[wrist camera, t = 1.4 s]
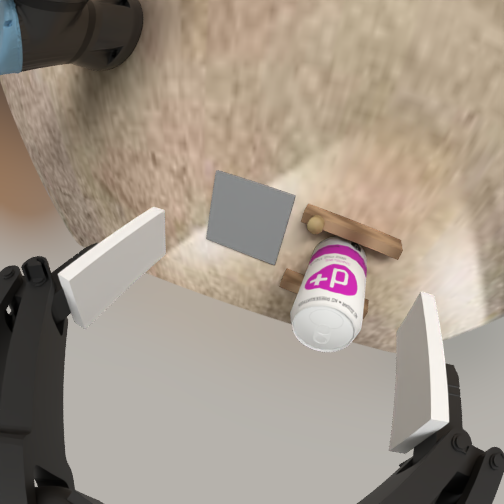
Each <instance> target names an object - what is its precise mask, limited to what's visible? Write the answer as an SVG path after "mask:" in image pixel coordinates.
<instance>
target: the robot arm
mask: <svg viewBox="0 0 504 504" xmlns="http://www.w3.org/2000/svg"><path fill="white" fill-rule="evenodd" d="M142 24H143V12H142V8H141V5H140V3H139V1H138V0H0V75H3V74H10V73H20V72H22V71H27V70H32V69H37V68H43V67H49V66H55V65H62V64H74V65H77V66H80V67H84V68H87V69H90V70H96V71H98V70H109V69H112V68H114V67H116V66H118V65H120V64H121V63H122V62H123V61H124V60H125V59H126V58H127V57H128V56H129V55H130V54H131V52H132V51H133V49H134V47H135V46H136V44H137V42H138V39H139V37H140V34H141V30H142ZM165 254H166V245H165V210H163V209H159V208H156V207H152V208H150V209H149V210H147V211H146V212H144V213H143V214H141V215H140V216H138V217H136V218H135V219H133V220H132V221H130V222H129V223H127V224H126V225H124V226H123V227H122V228H120V229H119V230H117V231H116V232H114V233H113V234H111V235H110V236H108V237H107V238H106V239H104V240H103V241H101V242H100V243H99V244H98V243H95V244H93V245H90V246H88V247H86V248H84V249H83V250H82V251H80V252H79V254H76V255H75V256H74V257H73V258H71V259H69V260H68V261H67V262H65V263H64V264H63V265H62V266H60V267H59V268H57V269H56V270H55V271H54V272H52V273H51V271H50V268H49V264H48V261H47V259H46V258H44V257H42V256H41V257H40V256H37V257H33V258H30V259H28V260H27V261H26V262H25V263H24V264H23V265H22V267H21V268H22V270H23V273H24V276H22V274H21V271H20V269H19V267H18V266H8V267H6V268H4V269H3V270H2V271H1V272H0V504H103V503H102V502H100V501H99V500H96V499H93V498H92V497H89V496H87V495H84V494H82V493H80V492H78V491H76V490H75V487H74V480H73V475H72V472H71V469H70V467H69V465H68V463H67V460H66V456H65V445H64V424H63V382H64V381H63V380H64V361H65V347H66V337H67V328H68V319H67V316H68V315H69V314H70V313H71V314H72V316H73V319H74V322H75V323H77V324H78V325H80V326H81V327H83V328H84V329H87V328H88V326H90V325H91V324H92V323H93V322H94V321H95V320H96V319H97V318H98V317H99V316H100V315H101V314H102V313H103V312H104V311H105V310H106V309H107V308H108V307H109V306H110V305H111V304H112V303H113V302H114V301H115V300H116V299H117V298H118V297H120V296H121V295H122V294H123V293H124V292H125V291H126V290H127V289H128V288H129V287H130V286H131V285H132V284H133V283H134V282H136V281H137V280H138V279H139V278H140V277H141V276H142V275H143V274H144V273H145V272H146V271H147V270H149V269H150V268H151V267H152V266H153V265H154V264H155V263H156V262H157V261H159V260H160V259H161V258H162V257H163V256H164V255H165ZM8 305H9V307H10V309H11V312H10V314H8V313H7V311H6V309H7V307H8ZM413 448H414V454H413V457H411V458H409V459H408V460H406V461H405V462H403V463H401V464H400V465H399V466H400V468H399V469H398V470H397V471H396V472H395V473H394V474H393V475H391V476H390V477H389V478H388V479H387V480H386V481H385V482H383V483H382V484H381V485H380V486H379V487H377V488H376V489H375V490H374V491H373V492H371V493H370V494H369V495H368V496H366V497H365V498H364V499H363V500H361V501H360V502H359V503H357V504H492V502H493V500H494V497H495V495H496V492H497V490H498V487H499V484H500V481H501V478H502V475H503V472H504V453H503V452H502V450H501V449H500V448H497V447H492V448H490V449H489V450H487V451H486V452H484V451H482V450H480V449H478V448H476V447H474V446H473V445H472V442H471V438H470V436H469V434H468V433H467V432H466V431H465V430H463V428H462V410H461V398H460V389H459V377H458V374H457V372H456V370H455V368H454V365H450V364H446V363H445V357H444V349H443V342H442V335H441V329H440V323H439V317H438V312H437V306H436V301H435V297H434V295H431V294H428V293H425V292H422V291H421V292H420V294H419V296H418V297H417V299H416V301H415V302H414V304H413V306H412V308H411V309H410V311H409V313H408V314H407V316H406V318H405V319H404V321H403V322H402V324H401V326H400V327H399V329H398V330H397V357H396V384H395V399H394V411H393V421H392V430H391V440H390V446H389V451H392V452H399V453H407V452H409V451H410V450H411V449H413ZM34 479H35V481H36V483H37V485H38V487H35V486H34Z"/></svg>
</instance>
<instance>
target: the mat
mask: <svg viewBox="0 0 504 504" xmlns="http://www.w3.org/2000/svg"><path fill="white" fill-rule="evenodd" d="M294 199H295V195H292V194H290V193H287V192H284V191H281V190H278V189H275V188H272V187H269V186H266V185H263V184H260V183H257V182H254V181H251V180H248V179H244V178H241V177H238V176H235V175H232V174H229V173H225V172H222V171H219V170H217V171H216V175H215V181H214V188H213V195H212V201H211V208H210V215H209V223H208V230H207V238H206V239H208V240H211V241H213V242H216V243H218V244H221V245H223V246H226V247H229V248H231V249H234V250H236V251H239V252H241V253H244V254H247V255H249V256H252V257H254V258H257V259H259V260H262V261H265V262H267V263H270V264H272V265H275V263H276V260H277V256H278V253H279V250H280V247H281V243H282V240H283V237H284V233H285V230H286V227H287V223H288V220H289V216H290V213H291V210H292V206H293V203H294Z"/></svg>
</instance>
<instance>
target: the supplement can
mask: <svg viewBox="0 0 504 504" xmlns="http://www.w3.org/2000/svg"><path fill="white" fill-rule="evenodd" d="M366 272H367V257H366V254H365V251H364V250H363V249H362V247H361V246H360V245H359V244H358V243H355V242H353V241H350V240H348V239H345V238H342V237H340V236H337V237H329V238H327V239H325V240H323V241H321V242H320V243H319V244H318V245H317V246H316V247H315V249H314V252H313V255H312V257H311V260H310V263H309V265H308V268H307V271H306V273H305V276H304V279H303V281H302V284H301V287H300V289H299V292H298V294H297V297H296V299H295V302H294V304H293V307H292V309H291V312H290V316H291V323H292V326H293V332H294V334H295V336H296V338H297V339H298V340H299V341H300V342H301V343H302V344H303V345H305V346H307V347H309V348H310V349H313V350H317V351H320V352H335V351H339V350H342V349H344V348H345V347H347V346H348V345H350V344H351V342H352V341H353V339H355V338H356V336H357V335H358V333H359V332H360V330H361V327H362V319H363V309H364V299H365V286H366Z"/></svg>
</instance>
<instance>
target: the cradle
mask: <svg viewBox="0 0 504 504" xmlns="http://www.w3.org/2000/svg"><path fill="white" fill-rule="evenodd" d="M301 222H303V223H306V224H307V229H308V231H309V232H310V233H312V234H319V233H321V232H322V230H324V231H327V232H329V233H332V234H335V235H337V236H340V237H342V238H345V239H348V240H350V241H353V242H355V243H358V244H360V245H363V246H365V247H368V248H370V249H373V250H375V251H378V252H380V253H383V254H385V255H387V256H390V257H392V258H395V259H397V260H398V259H399V257H400V255H401V253H402V251H403V250H402V244H401V240H399V239H397V238H395V237H392V236H390V235H387V234H385V233H383V232H380V231H378V230H375V229H373V228H370V227H368V226H365V225H363V224H360V223H358V222H355V221H353V220H350V219H348V218H345V217H343V216H340V215H337V214H335V213H332V212H329V211H327V210H324V209H321V208H319V207H316V206H313V205H310V204H308V205H307V207H306V209H305V211H304V213H303V217H302V220H301ZM304 276H305V275H302V274H300V273H297V272H294V271H292V270H289V269H287V270H286V272H285V274H284V276H283V278H282V280H281V283H280V286H279V287H281V288H284V289H286V290H289V291H291V292H294V293H297V294H298V292H299V289H300V287H301V284H302V281H303V279H304ZM367 312H368V300H367V299H364V309H363V319H364V317H365V316H366V314H367Z"/></svg>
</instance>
